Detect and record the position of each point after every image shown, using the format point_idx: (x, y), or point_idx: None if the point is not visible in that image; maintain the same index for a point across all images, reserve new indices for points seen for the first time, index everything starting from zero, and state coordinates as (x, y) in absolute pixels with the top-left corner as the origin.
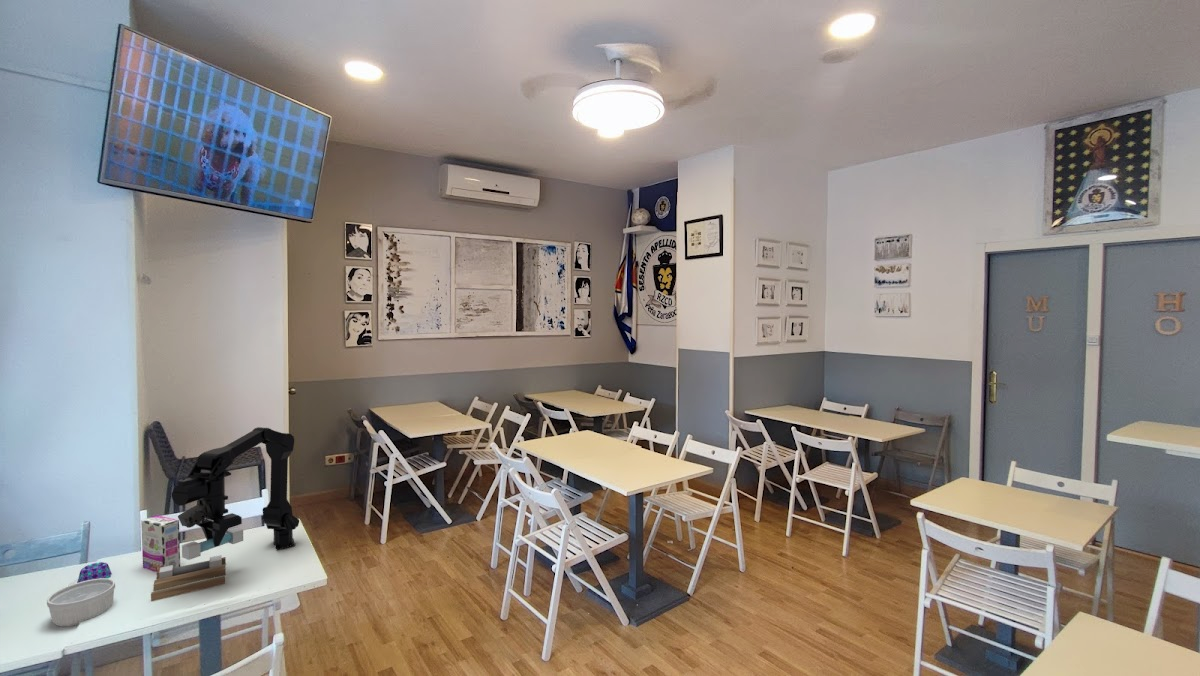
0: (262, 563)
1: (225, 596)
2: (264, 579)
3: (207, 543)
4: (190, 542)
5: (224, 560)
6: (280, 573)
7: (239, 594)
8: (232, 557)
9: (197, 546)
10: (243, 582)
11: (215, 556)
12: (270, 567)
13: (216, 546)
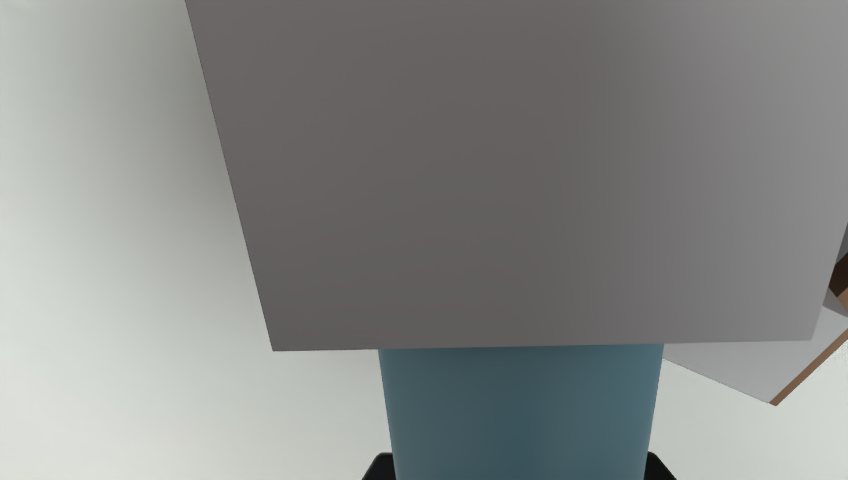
0: None
1: (92, 49)
2: (180, 359)
3: (407, 458)
4: (818, 227)
5: None
6: (190, 448)
7: (39, 137)
8: (844, 434)
9: (272, 216)
10: None
11: (803, 360)
12: (358, 464)
13: (375, 468)
